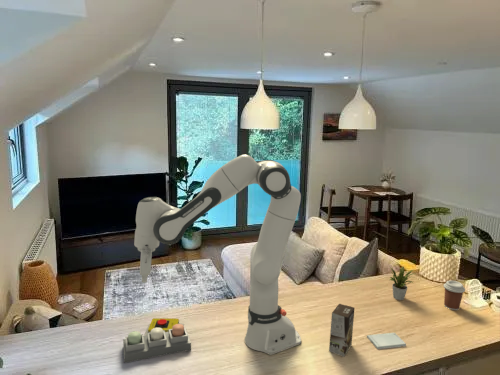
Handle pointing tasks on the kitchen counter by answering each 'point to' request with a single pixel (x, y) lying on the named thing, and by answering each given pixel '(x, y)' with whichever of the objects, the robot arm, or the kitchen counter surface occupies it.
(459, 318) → the kitchen counter surface
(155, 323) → the emergency button
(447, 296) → the coffee cup
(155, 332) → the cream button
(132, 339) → the pale green egg
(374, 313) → the kitchen counter surface
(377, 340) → the hard drive
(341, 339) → the coffee box
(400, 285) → the house plant
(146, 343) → the panel
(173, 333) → the brown egg
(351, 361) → the kitchen counter surface
